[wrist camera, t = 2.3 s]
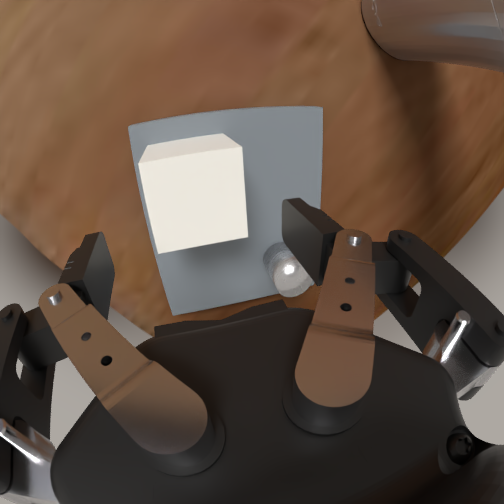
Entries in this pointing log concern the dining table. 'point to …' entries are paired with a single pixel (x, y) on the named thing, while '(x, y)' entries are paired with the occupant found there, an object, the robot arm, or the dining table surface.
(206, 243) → the cream rounded cube
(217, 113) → the base plate
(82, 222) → the dining table surface
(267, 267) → the stub
